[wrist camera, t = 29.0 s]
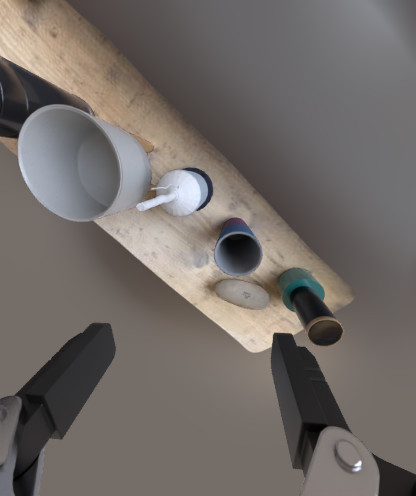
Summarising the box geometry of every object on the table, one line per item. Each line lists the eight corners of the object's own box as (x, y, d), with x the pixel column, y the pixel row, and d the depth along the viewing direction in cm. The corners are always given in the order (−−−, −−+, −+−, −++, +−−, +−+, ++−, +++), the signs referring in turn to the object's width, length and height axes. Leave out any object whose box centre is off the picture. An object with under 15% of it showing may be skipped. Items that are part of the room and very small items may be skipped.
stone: (214, 275, 43) (272, 290, 39) (222, 273, 49) (273, 286, 45) (209, 302, 43) (266, 318, 39) (218, 296, 49) (268, 311, 45)
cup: (230, 206, 41) (231, 221, 27) (258, 224, 41) (272, 248, 27) (212, 234, 43) (204, 261, 29) (239, 250, 44) (244, 284, 30)
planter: (94, 179, 42) (4, 179, 25) (122, 121, 38) (37, 75, 21) (145, 217, 43) (93, 241, 27) (178, 165, 39) (141, 155, 23)
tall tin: (289, 309, 42) (307, 348, 32) (288, 287, 40) (306, 320, 31) (317, 307, 41) (344, 345, 31) (316, 283, 39) (344, 317, 30)
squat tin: (275, 299, 47) (280, 312, 42) (278, 267, 44) (284, 278, 39) (311, 300, 46) (321, 314, 41) (317, 268, 43) (327, 279, 39)
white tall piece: (166, 196, 42) (82, 218, 18) (186, 159, 39) (118, 130, 15) (199, 217, 42) (160, 267, 19) (221, 183, 40) (208, 190, 16)
